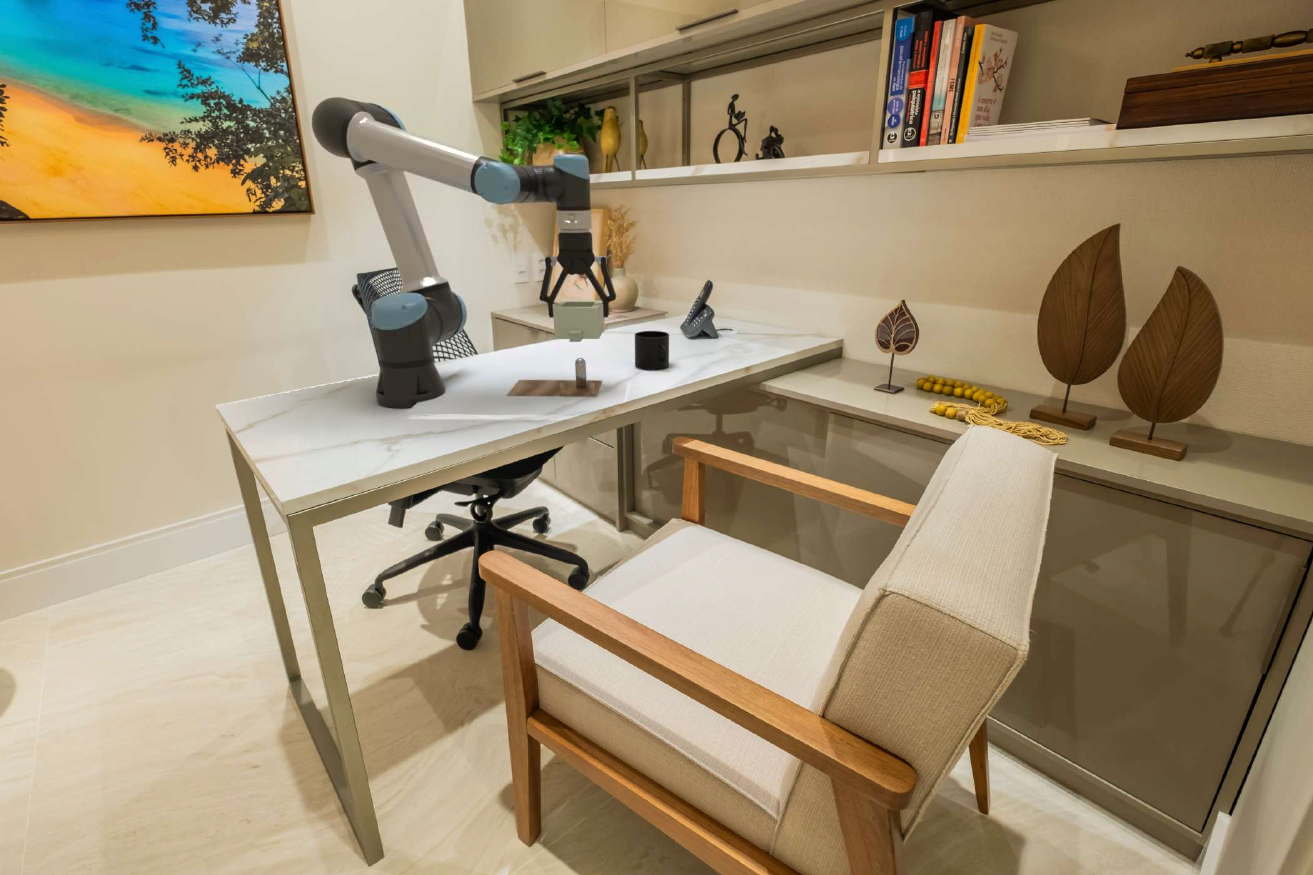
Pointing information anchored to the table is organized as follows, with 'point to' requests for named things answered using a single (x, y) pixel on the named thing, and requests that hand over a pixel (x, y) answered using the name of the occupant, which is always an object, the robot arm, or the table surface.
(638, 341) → the mug
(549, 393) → the board
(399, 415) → the table surface
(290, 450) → the table surface
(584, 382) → the post
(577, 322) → the sage green storage bin
